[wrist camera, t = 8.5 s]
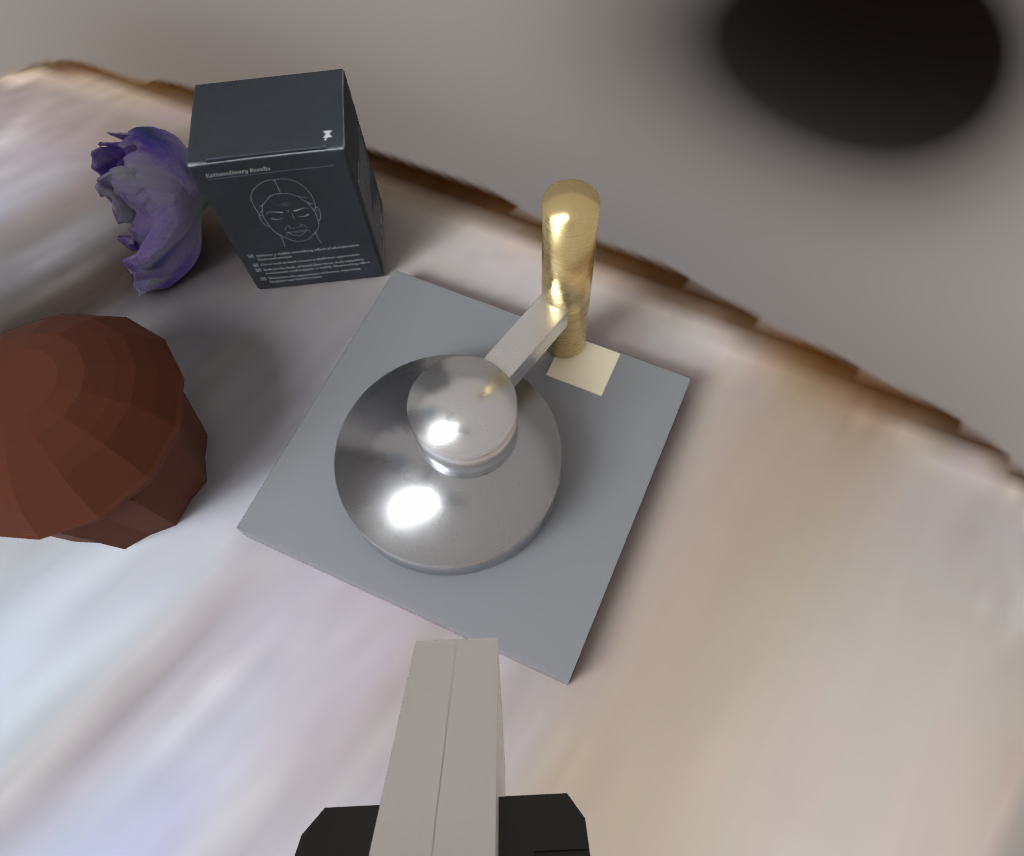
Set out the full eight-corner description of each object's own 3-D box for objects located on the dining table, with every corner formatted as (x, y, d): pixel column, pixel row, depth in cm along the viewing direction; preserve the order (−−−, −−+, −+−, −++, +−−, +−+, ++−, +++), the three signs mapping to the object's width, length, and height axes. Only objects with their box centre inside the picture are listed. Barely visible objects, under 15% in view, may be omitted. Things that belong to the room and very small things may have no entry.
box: (383, 205, 49) (345, 64, 39) (386, 279, 47) (346, 148, 37) (259, 217, 49) (191, 79, 39) (256, 292, 46) (182, 165, 37)
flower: (225, 69, 45) (52, 93, 39) (305, 196, 45) (146, 241, 39) (186, 161, 52) (33, 195, 46) (255, 270, 52) (114, 319, 46)
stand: (246, 536, 40) (236, 527, 39) (399, 284, 46) (394, 269, 45) (567, 685, 37) (568, 681, 35) (685, 391, 43) (691, 377, 41)
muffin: (160, 341, 45) (65, 231, 36) (276, 464, 42) (203, 376, 33) (-21, 477, 42) (-176, 393, 33) (88, 622, 39) (-51, 574, 29)
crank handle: (467, 623, 36) (439, 562, 26) (298, 487, 39) (215, 387, 29) (660, 377, 41) (700, 247, 31) (497, 274, 44) (486, 125, 34)
